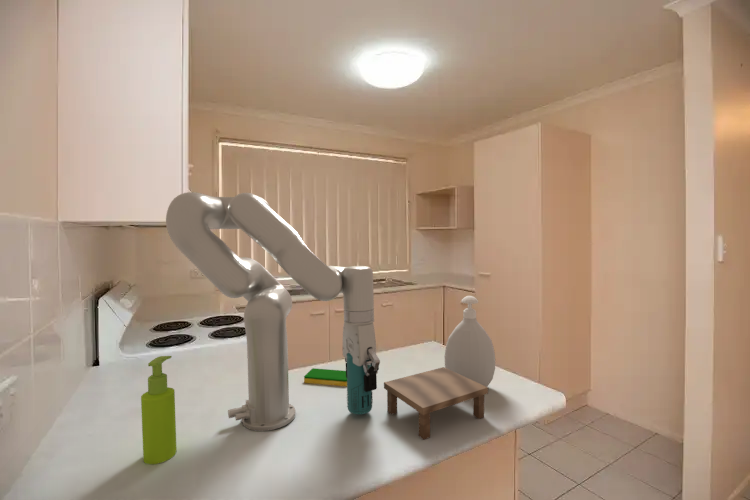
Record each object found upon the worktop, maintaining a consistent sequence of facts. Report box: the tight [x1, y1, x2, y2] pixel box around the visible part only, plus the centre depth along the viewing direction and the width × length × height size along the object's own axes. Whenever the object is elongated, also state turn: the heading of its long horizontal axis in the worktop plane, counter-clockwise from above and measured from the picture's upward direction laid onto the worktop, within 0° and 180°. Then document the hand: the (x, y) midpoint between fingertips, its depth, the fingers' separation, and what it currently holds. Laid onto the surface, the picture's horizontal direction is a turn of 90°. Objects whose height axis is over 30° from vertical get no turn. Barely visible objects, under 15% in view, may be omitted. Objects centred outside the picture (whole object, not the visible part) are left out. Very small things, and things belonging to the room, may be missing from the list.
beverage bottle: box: [346, 353, 374, 415], centre depth 91 cm, size 6×7×20 cm
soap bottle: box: [444, 295, 496, 387], centre depth 107 cm, size 14×8×27 cm, turn 77°
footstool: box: [383, 366, 489, 440], centre depth 90 cm, size 20×16×8 cm
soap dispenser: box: [140, 355, 177, 465], centre depth 75 cm, size 6×7×20 cm
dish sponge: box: [303, 368, 347, 387], centre depth 113 cm, size 7×14×2 cm, turn 77°
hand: (360, 383), depth 91 cm, fingers open, 9 cm apart
